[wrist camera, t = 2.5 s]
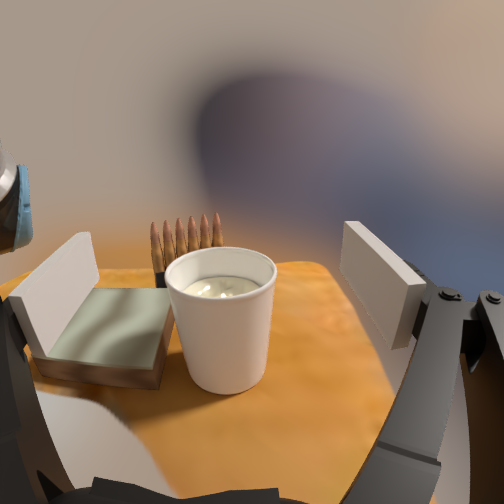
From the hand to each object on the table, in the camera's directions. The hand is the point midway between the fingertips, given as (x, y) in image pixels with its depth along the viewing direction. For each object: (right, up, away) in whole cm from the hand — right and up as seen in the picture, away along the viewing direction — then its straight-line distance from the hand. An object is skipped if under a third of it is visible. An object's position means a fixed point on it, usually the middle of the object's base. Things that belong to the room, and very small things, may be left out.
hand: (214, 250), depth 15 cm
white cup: (-1, -13, +17) cm, 21 cm away
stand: (-16, -11, +19) cm, 27 cm away
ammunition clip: (-7, -7, +30) cm, 32 cm away
